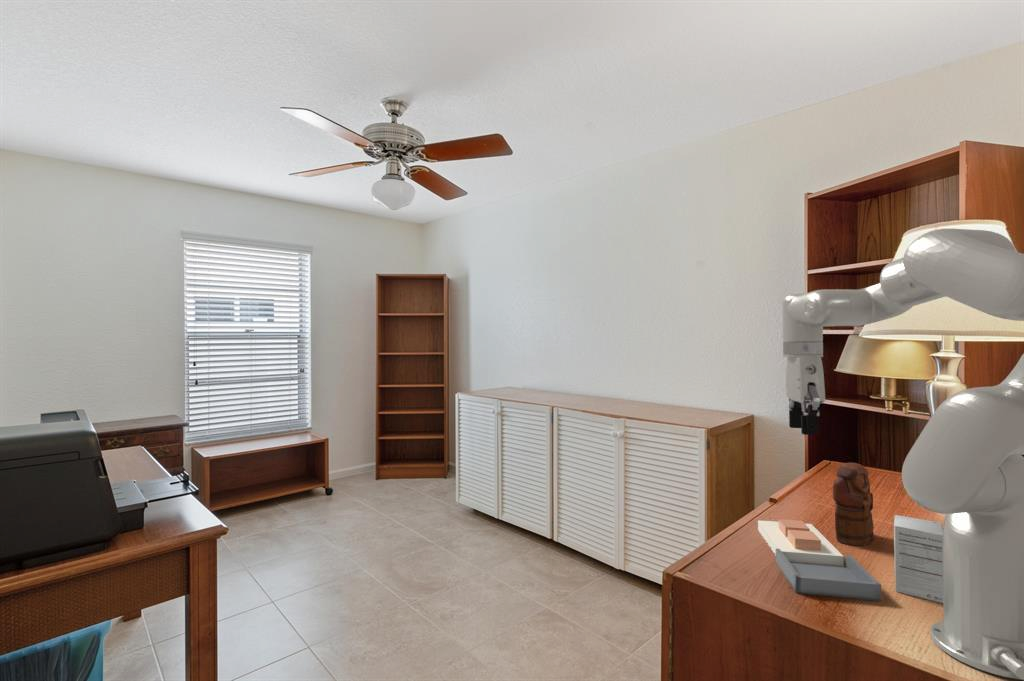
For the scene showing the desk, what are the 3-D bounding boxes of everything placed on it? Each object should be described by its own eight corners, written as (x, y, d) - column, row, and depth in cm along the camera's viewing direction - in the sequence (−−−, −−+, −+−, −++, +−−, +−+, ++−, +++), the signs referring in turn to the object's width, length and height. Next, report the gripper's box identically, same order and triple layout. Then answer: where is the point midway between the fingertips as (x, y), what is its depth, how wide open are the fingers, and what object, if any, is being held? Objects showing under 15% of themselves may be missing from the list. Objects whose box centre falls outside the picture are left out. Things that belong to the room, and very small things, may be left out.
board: (843, 567, 101) (843, 556, 101) (780, 562, 104) (780, 551, 104) (811, 533, 118) (811, 524, 118) (758, 529, 121) (757, 520, 121)
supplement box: (894, 576, 97) (894, 513, 97) (944, 588, 92) (943, 522, 92) (894, 591, 91) (893, 525, 91) (946, 605, 86) (946, 534, 86)
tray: (881, 601, 88) (881, 584, 88) (796, 592, 91) (795, 577, 91) (849, 568, 100) (849, 554, 100) (775, 562, 104) (775, 548, 103)
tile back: (809, 538, 110) (809, 528, 110) (785, 536, 111) (785, 527, 111) (802, 529, 115) (801, 520, 115) (778, 528, 116) (778, 519, 116)
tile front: (821, 550, 104) (820, 540, 104) (795, 548, 105) (795, 538, 105) (812, 541, 108) (812, 531, 108) (787, 539, 110) (787, 529, 110)
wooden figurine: (863, 550, 109) (862, 470, 109) (830, 541, 114) (830, 465, 114) (878, 536, 117) (877, 461, 117) (847, 528, 122) (846, 456, 121)
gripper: (838, 351, 97) (839, 439, 97) (807, 349, 114) (808, 424, 114) (797, 351, 98) (798, 438, 98) (772, 349, 115) (773, 423, 115)
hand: (803, 430), depth 106 cm, fingers open, 7 cm apart
